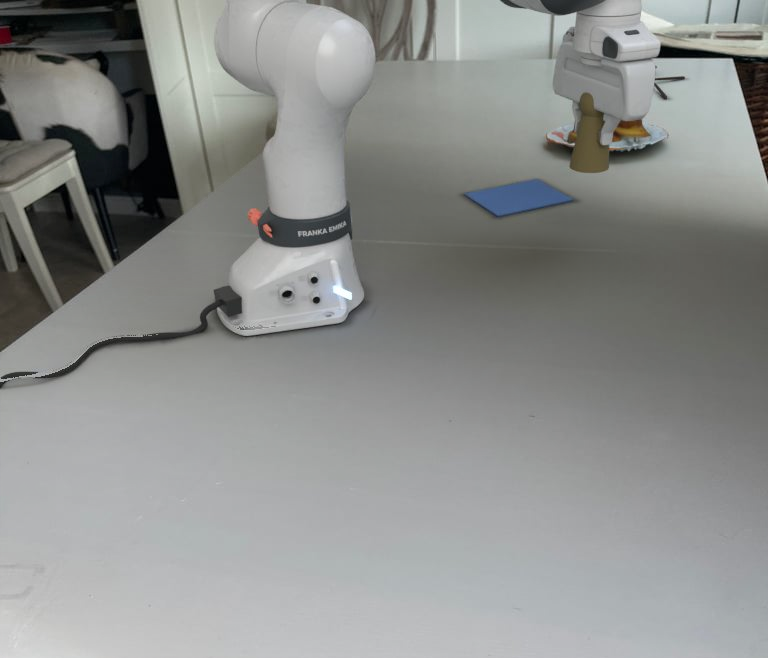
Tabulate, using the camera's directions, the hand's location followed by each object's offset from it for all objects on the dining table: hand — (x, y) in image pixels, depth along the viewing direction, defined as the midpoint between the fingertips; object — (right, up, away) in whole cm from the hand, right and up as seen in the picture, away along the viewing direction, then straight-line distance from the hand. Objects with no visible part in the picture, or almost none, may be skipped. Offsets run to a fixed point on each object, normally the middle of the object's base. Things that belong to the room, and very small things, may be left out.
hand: (592, 138), depth 123 cm
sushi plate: (+33, +55, +88) cm, 109 cm away
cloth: (-7, +2, +29) cm, 30 cm away
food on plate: (+16, +22, +51) cm, 58 cm away
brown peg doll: (0, -3, +3) cm, 4 cm away
